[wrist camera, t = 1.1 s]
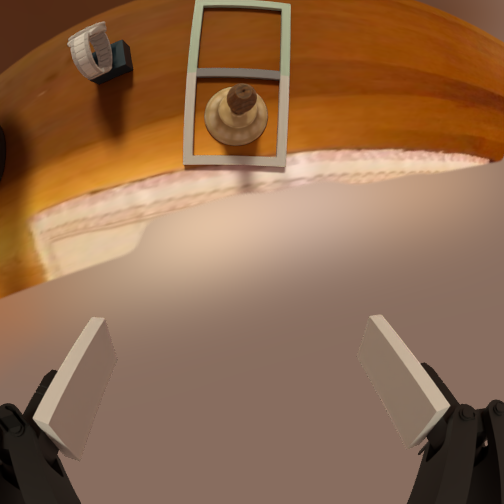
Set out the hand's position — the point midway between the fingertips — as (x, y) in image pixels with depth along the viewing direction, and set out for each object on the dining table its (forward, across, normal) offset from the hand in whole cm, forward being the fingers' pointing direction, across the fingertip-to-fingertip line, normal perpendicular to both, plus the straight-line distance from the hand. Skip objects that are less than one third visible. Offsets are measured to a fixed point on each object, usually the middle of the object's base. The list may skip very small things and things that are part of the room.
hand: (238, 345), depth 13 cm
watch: (+27, -18, +23) cm, 40 cm away
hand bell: (+27, 0, +14) cm, 30 cm away
